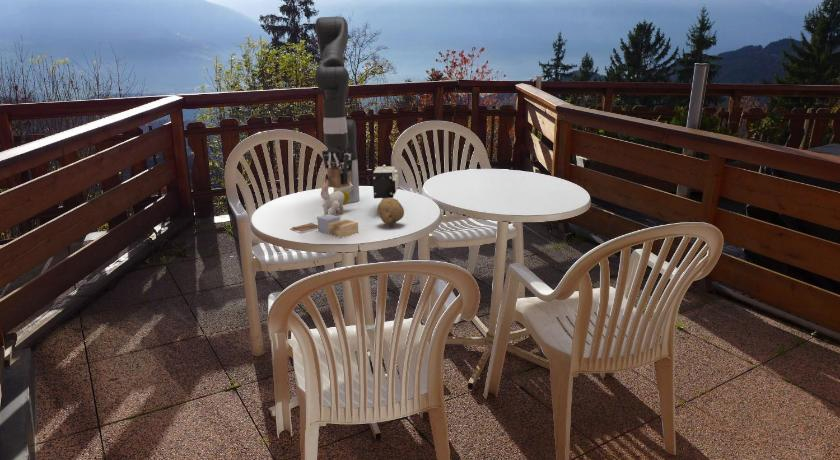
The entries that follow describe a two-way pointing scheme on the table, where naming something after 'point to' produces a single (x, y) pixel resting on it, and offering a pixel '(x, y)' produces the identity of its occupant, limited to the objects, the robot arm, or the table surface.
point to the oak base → (343, 228)
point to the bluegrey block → (326, 222)
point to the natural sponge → (390, 211)
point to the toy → (335, 198)
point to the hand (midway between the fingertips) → (339, 183)
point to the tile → (305, 228)
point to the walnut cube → (336, 178)
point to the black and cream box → (385, 182)
